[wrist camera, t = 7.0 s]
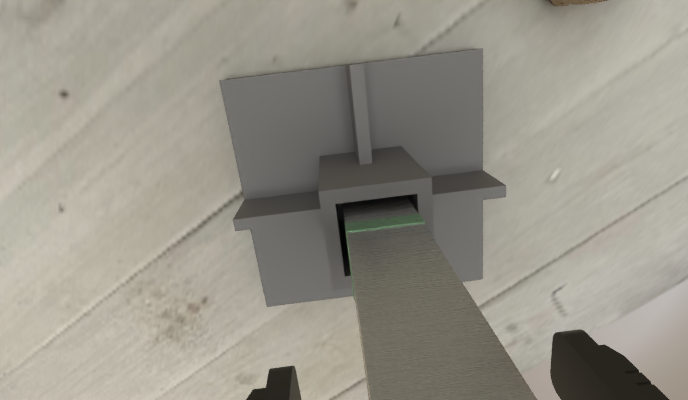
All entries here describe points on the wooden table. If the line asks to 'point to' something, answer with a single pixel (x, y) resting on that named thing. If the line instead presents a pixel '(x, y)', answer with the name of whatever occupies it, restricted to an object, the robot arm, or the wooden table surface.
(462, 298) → the column
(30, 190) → the wooden table surface
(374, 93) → the stand
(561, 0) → the handle
